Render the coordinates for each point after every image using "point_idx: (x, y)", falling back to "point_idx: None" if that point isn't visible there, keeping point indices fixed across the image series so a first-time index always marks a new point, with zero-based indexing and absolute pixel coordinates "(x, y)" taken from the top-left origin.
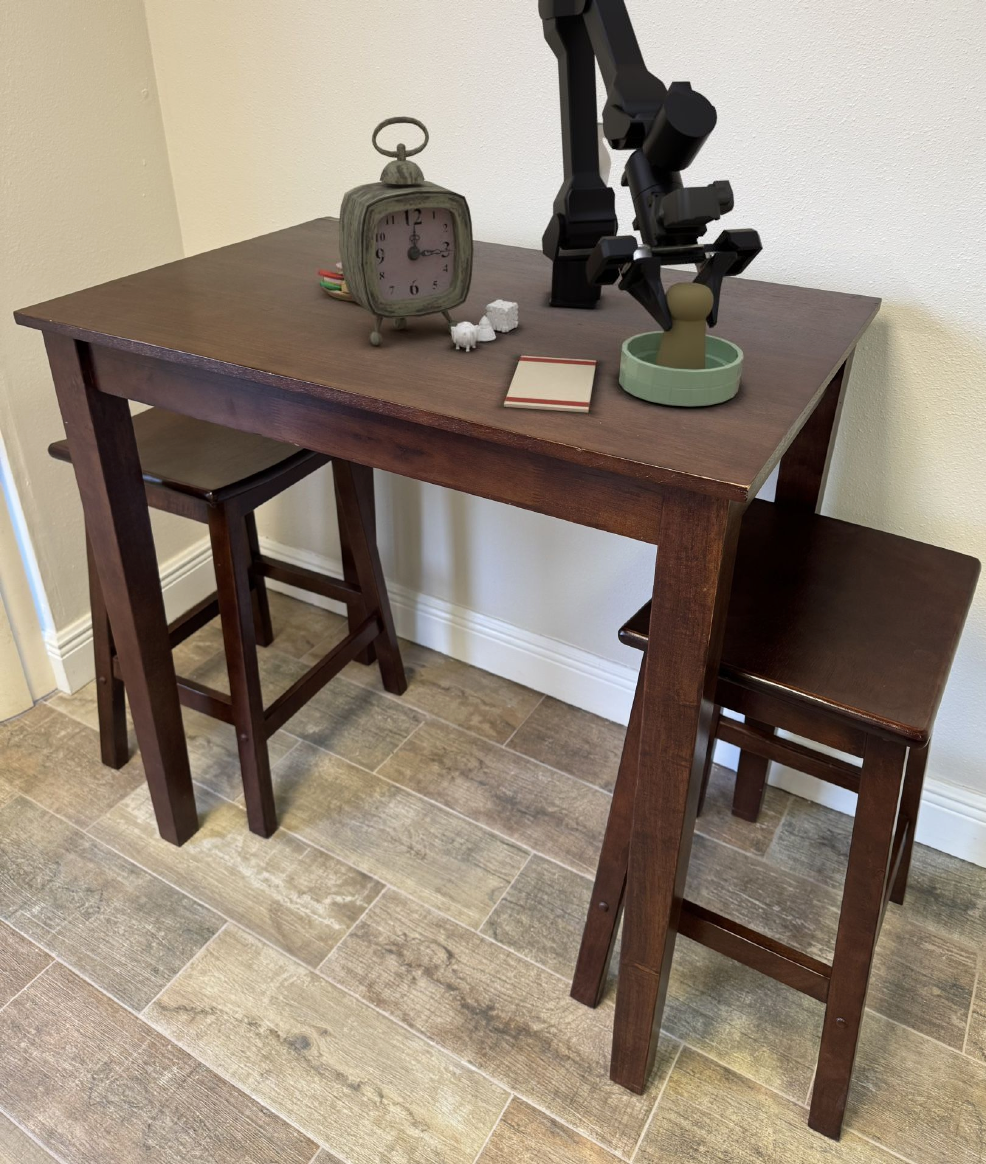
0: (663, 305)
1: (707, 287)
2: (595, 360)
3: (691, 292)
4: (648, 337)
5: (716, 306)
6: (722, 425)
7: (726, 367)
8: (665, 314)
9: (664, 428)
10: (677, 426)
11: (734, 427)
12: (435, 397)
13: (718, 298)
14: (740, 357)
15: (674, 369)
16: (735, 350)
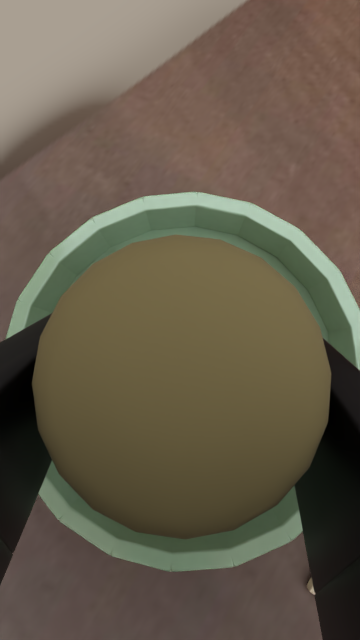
0: (345, 372)
1: (65, 331)
2: (311, 592)
3: (241, 267)
4: (206, 543)
5: (43, 325)
6: (212, 154)
7: (146, 197)
8: (326, 344)
9: (331, 179)
10: (301, 178)
11: (196, 139)
12: None
13: (3, 344)
14: (59, 252)
15: (294, 232)
16: (30, 315)
